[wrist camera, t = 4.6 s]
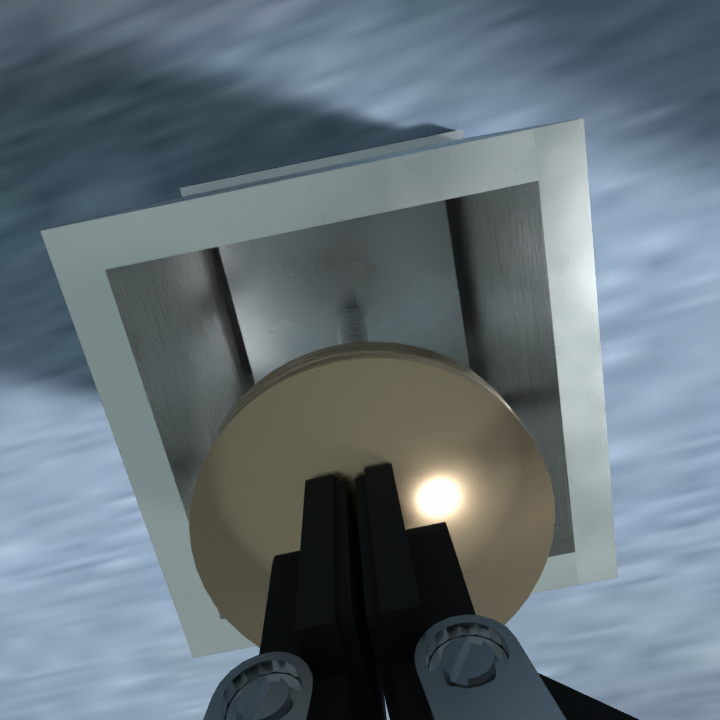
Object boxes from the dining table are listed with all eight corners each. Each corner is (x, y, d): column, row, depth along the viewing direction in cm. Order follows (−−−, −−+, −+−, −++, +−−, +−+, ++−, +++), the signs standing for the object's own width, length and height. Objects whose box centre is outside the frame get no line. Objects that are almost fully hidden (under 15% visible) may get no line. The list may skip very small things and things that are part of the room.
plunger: (439, 185, 26) (610, 228, 10) (470, 393, 29) (639, 682, 13) (218, 231, 27) (34, 344, 10) (271, 432, 30) (195, 764, 13)
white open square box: (456, 130, 31) (599, 96, 14) (491, 384, 35) (631, 585, 19) (186, 186, 31) (17, 217, 15) (254, 431, 36) (184, 670, 19)
